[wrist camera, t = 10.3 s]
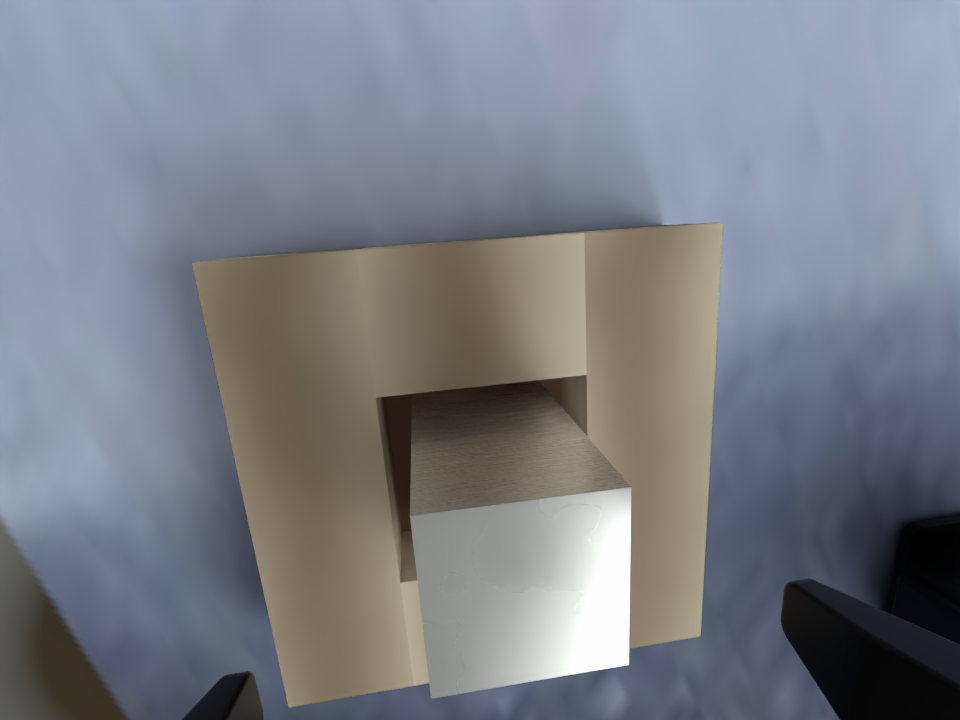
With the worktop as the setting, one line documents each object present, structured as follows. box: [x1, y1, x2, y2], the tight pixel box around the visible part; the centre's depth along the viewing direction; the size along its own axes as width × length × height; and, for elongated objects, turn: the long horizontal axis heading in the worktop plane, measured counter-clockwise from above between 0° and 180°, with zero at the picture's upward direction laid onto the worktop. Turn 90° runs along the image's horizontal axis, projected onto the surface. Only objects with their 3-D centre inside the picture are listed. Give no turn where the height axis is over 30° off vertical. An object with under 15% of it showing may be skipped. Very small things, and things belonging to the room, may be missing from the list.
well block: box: [191, 223, 723, 707], centre depth 15 cm, size 13×13×3 cm
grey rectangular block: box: [410, 380, 631, 699], centre depth 12 cm, size 4×4×7 cm
